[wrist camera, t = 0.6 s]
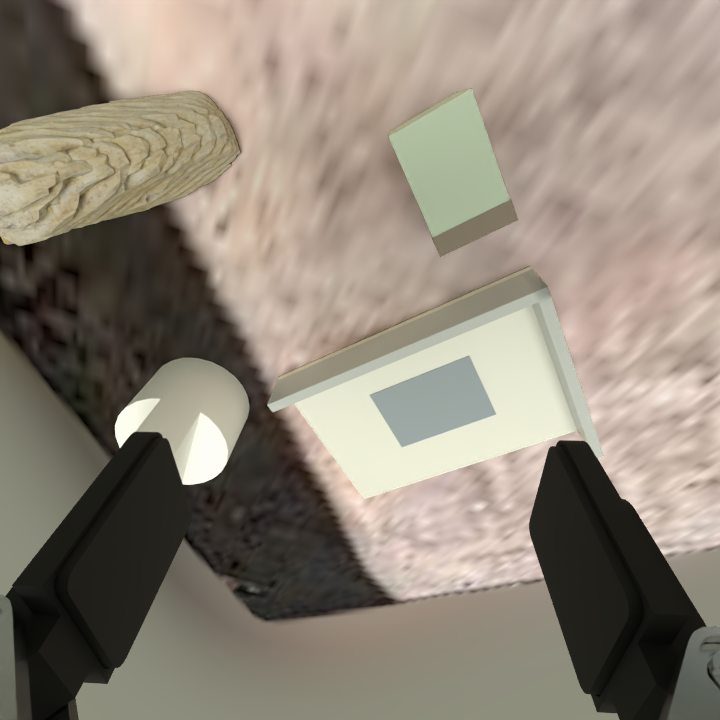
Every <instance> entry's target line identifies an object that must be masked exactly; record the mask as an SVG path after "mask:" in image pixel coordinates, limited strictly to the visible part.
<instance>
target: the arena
mask: <svg viewBox="0 0 720 720" xmlns="http://www.w3.org/2000/svg"><path fill="white" fill-rule="evenodd" d="M292 404H295V406H296V407H297V408H298V410H299V411H300V412H301V414H302V415H303V417H304V418H305V419H306V421H307V422H308V423H309V425H310V426H311V428H312V429H313V430H314V432H315V433H316V434H317V436H318V437H319V439H320V440H321V441H322V443H323V444H324V445H325V447H326V448H327V450H328V451H329V452H330V454H331V455H332V456H333V458H334V459H335V460H336V462H337V463H338V465H339V466H340V467H341V469H342V470H343V471H344V473H345V474H346V476H347V477H348V478H349V480H350V481H351V482H352V484H353V485H354V487H355V488H356V489H357V491H358V492H359V493H360V495H361V496H362V498H363V499H365V498H368V497H372V496H375V495H378V494H381V493H384V492H387V491H390V490H393V489H397V488H400V487H403V486H406V485H409V484H412V483H415V482H418V481H422V480H425V479H428V478H431V477H434V476H437V475H440V474H443V473H447V472H450V471H453V470H456V469H459V468H462V467H465V466H468V465H472V464H475V463H478V462H481V461H484V460H487V459H490V458H493V457H497V456H500V455H503V454H506V453H509V452H512V451H515V450H518V449H522V448H525V447H528V446H531V445H534V444H537V443H540V442H543V441H547V440H550V439H553V438H556V437H559V436H562V435H565V434H568V433H572V432H575V431H578V433H579V435H580V436H581V438H582V440H583V441H585V442H587V443H588V444H589V445H590V447H591V449H592V450H593V452H594V454H595V455H596V457H597V458H598V457H601V456H604V455H603V452H602V449H601V446H600V443H599V440H598V437H597V434H596V431H595V428H594V425H593V422H592V419H591V416H590V413H589V410H588V407H587V404H586V401H585V398H584V394H583V391H582V388H581V385H580V382H579V379H578V376H577V373H576V370H575V367H574V364H573V361H572V358H571V355H570V352H569V349H568V346H567V343H566V340H565V337H564V334H563V331H562V328H561V325H560V322H559V319H558V316H557V313H556V310H555V307H554V304H553V301H552V298H551V295H550V292H549V289H548V286H547V285H546V284H545V283H544V282H543V281H542V280H541V278H540V277H539V276H538V275H537V274H536V273H535V271H534V270H533V269H532V268H531V267H530V266H529V267H527V268H525V269H522V270H520V271H518V272H516V273H513V274H511V275H509V276H507V277H504V278H502V279H500V280H497V281H495V282H493V283H491V284H488V285H486V286H484V287H482V288H479V289H477V290H475V291H472V292H470V293H468V294H466V295H463V296H461V297H459V298H457V299H454V300H452V301H450V302H447V303H445V304H443V305H441V306H438V307H436V308H434V309H432V310H429V311H427V312H425V313H423V314H420V315H418V316H416V317H413V318H411V319H409V320H407V321H404V322H402V323H400V324H398V325H395V326H393V327H391V328H388V329H386V330H384V331H382V332H379V333H377V334H375V335H373V336H370V337H368V338H366V339H363V340H361V341H359V342H357V343H354V344H352V345H350V346H348V347H345V348H343V349H341V350H338V351H336V352H334V353H332V354H329V355H327V356H325V357H323V358H320V359H318V360H316V361H314V362H311V363H309V364H307V365H304V366H302V367H300V368H298V369H295V370H293V371H291V372H289V373H286V374H284V375H282V376H279V377H278V380H277V382H276V385H275V387H274V390H273V392H272V394H271V397H270V399H269V402H268V404H267V405H268V407H269V408H270V409H271V411H272V412H275V411H277V410H279V409H282V408H284V407H287V406H289V405H292Z"/></svg>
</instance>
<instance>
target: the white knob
mask: <svg viewBox="0 0 720 720" xmlns="http://www.w3.org/2000/svg"><path fill="white" fill-rule="evenodd" d="M248 413H249V401H248V396H247V394H246V392H245V390H244V388H243V386H242V385H241V383H240V382H239V381H238V380H237V379H236V377H235V376H234V375H232V374H231V373H230V372H228V371H227V370H226V369H224V368H223V367H221V366H219V365H217V364H215V363H213V362H210V361H206V360H202V359H198V358H181V359H177V360H172V361H170V362H168V363H167V364H165V365H163V366H162V367H161V368H160V369H159V370H158V371H157V372H156V374H155V375H154V376H153V377H152V378H151V379H150V380H149V381H148V383H147V384H146V385H145V386H144V387H143V388H142V389H141V391H140V392H139V393H138V394H137V395H136V396H135V397H134V399H133V400H132V401H131V402H130V403H129V404H128V405H127V407H126V408H125V409H124V410H123V411H122V412H121V413H120V414H119V416H118V419H117V422H116V424H115V434H116V439H117V442H118V444H119V447H120V448H121V446H122V445H123V444H124V442H125V441H126V440H127V439H128V437H129V436H130V435H131V434H132V433H134V432H159V433H160V434H161V435H162V437H163V438H166V439H168V441H169V443H170V446H171V450H172V453H173V456H174V459H175V462H176V465H177V468H178V471H179V474H180V477H181V480H182V484H188V485H192V484H198V483H204V482H206V481H208V480H211V479H213V478H214V477H216V476H217V475H218V474H219V473H220V472H222V470H223V468H224V466H225V465H226V463H227V461H228V459H229V456H230V454H231V452H232V450H233V448H234V446H235V443H236V441H237V439H238V437H239V435H240V433H241V430H242V428H243V426H244V424H245V422H246V419H247V417H248Z"/></svg>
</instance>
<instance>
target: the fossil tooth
mask: <svg viewBox="0 0 720 720" xmlns="http://www.w3.org/2000/svg"><path fill="white" fill-rule="evenodd" d="M238 154H240V150H239V147H238V143H237V140H236V137H235V135H234V132H233V130H232V127H231V126H230V124H229V122H228V120H227V118H225V117H224V115H223V113H222V111H220V110H218V108H217V106H216V104H215V103H214V102H213V101H212V100H211V99H210V97H208V96H207V95H205V94H203V93H201V92H197V91H184V92H178V93H175V94H172V95H156V96H148V97H142V98H137V99H125V100H117V101H110V102H109V103H105V104H98V105H91V106H86V107H82V108H80V109H75V110H69V111H64V112H58V113H55V114H51V115H46V116H42V117H37V118H33V119H27V120H23V121H20V122H17V123H14V124H11V125H10V126H8V127H6V128H3V129H0V237H1V238H2V240H3V242H4V243H5V244H14V243H15V244H17V245H19V246H22V245H26V244H31V243H36V242H39V241H42V240H46V239H48V238H50V237H53V236H56V235H59V234H62V233H66V232H69V231H70V230H71V229H74V228H81V227H84V226H86V225H91V224H95V223H98V222H100V221H102V220H109V219H113V218H117V217H121V216H125V215H129V214H132V213H136V212H141V211H144V210H148V209H150V208H152V207H155V206H157V205H160V204H163V203H166V202H169V201H172V200H175V199H178V198H181V197H184V196H187V195H188V194H190V193H191V192H192V191H194V190H195V189H197V188H198V187H201V186H203V185H205V184H207V183H210V182H212V181H214V180H215V179H216V178H217V177H218V176H219V175H221V174H222V173H223V172H224V171H225V170H227V169H228V168H229V167H230V166H231V162H232V161H233V160H235V159H236V156H237V155H238Z"/></svg>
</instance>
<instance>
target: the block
mask: <svg viewBox="0 0 720 720" xmlns="http://www.w3.org/2000/svg"><path fill="white" fill-rule="evenodd" d="M388 137H389V140H390V142H391V144H392V146H393V149H394V151H395V153H396V155H397V158H398V160H399V162H400V164H401V167H402V169H403V171H404V174H405V176H406V178H407V180H408V183H409V185H410V187H411V189H412V192H413V194H414V196H415V198H416V201H417V203H418V205H419V208H420V210H421V212H422V214H423V217H424V219H425V221H426V223H427V226H428V228H429V230H430V233H431V237H432V239H433V242H434V244H435V246H436V248H437V251H438V253H439V255H440V257H441V256H443V255H445V254H447V253H449V252H451V251H453V250H456V249H458V248H460V247H462V246H464V245H466V244H468V243H470V242H472V241H475V240H477V239H479V238H481V237H483V236H485V235H487V234H489V233H491V232H493V231H496V230H498V229H500V228H502V227H504V226H506V225H508V224H510V223H512V222H514V221H517V220H518V218H517V216H516V213H515V210H514V207H513V204H512V201H511V199H510V198H509V196H508V193H507V190H506V187H505V184H504V181H503V178H502V175H501V172H500V169H499V167H498V164H497V161H496V158H495V155H494V152H493V149H492V146H491V143H490V140H489V137H488V134H487V132H486V129H485V126H484V123H483V120H482V117H481V114H480V111H479V108H478V105H477V102H476V99H475V97H474V94H473V91H472V88H471V89H467V90H464V91H460V92H456V93H454V94H453V95H451V96H449V97H448V98H446V99H444V100H442V101H441V102H439V103H437V104H436V105H434V106H432V107H430V108H429V109H427V110H425V111H424V112H422V113H420V114H419V115H417V116H415V117H413V118H412V119H410V120H408V121H407V122H405V123H403V124H401V125H400V126H398V127H396V128H395V129H393V130H391V131H389V135H388Z"/></svg>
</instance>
